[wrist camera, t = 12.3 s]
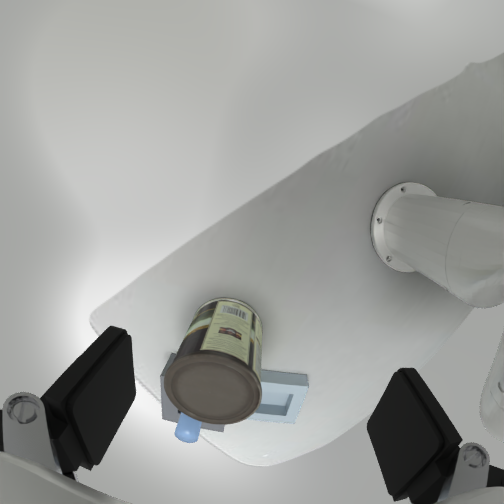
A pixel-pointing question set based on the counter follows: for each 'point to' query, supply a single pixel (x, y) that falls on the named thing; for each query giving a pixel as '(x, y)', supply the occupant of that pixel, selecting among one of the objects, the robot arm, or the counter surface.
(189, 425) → the plug
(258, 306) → the counter surface
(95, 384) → the robot arm
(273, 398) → the square frame plate
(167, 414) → the port
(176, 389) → the coffee can
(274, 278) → the counter surface
